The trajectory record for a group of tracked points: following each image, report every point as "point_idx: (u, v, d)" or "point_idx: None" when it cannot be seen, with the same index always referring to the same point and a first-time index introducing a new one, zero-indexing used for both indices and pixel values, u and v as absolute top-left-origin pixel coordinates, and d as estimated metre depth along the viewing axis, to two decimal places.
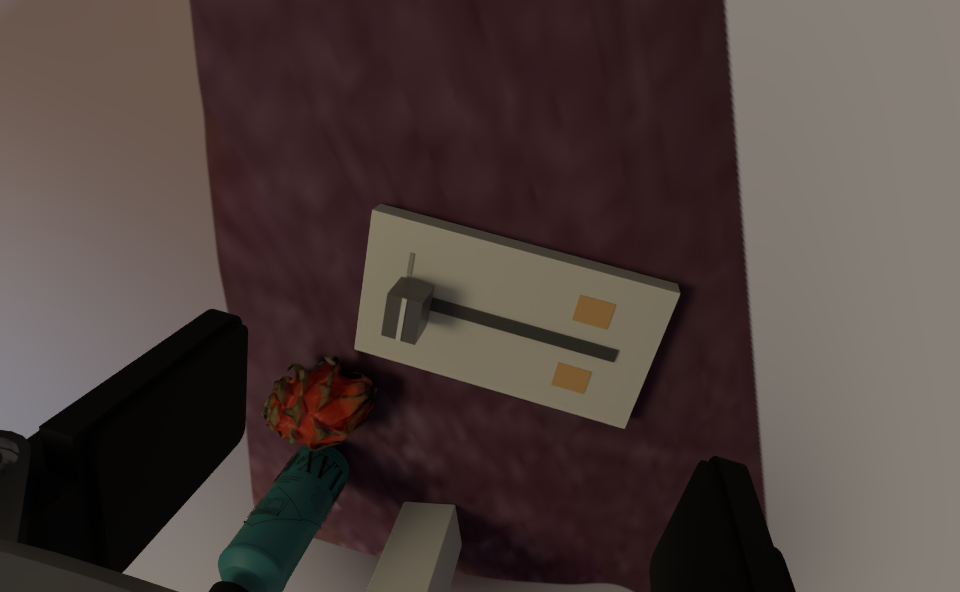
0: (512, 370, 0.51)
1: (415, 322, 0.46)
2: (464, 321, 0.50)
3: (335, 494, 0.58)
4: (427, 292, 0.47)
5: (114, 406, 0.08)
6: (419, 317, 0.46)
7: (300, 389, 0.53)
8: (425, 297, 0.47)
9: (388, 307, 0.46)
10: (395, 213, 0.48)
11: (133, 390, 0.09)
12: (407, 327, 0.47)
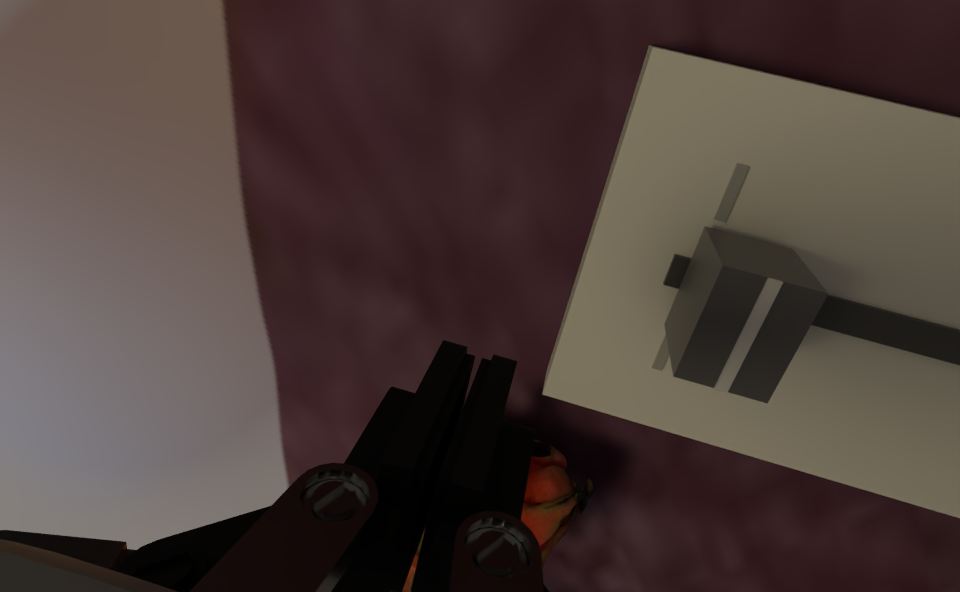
0: (934, 451, 0.22)
1: (789, 345, 0.17)
2: (841, 337, 0.21)
3: None
4: (799, 264, 0.18)
5: (425, 439, 0.09)
6: (803, 332, 0.17)
7: None
8: (812, 277, 0.17)
9: (715, 304, 0.17)
10: (707, 59, 0.18)
11: (429, 423, 0.09)
12: (758, 358, 0.17)
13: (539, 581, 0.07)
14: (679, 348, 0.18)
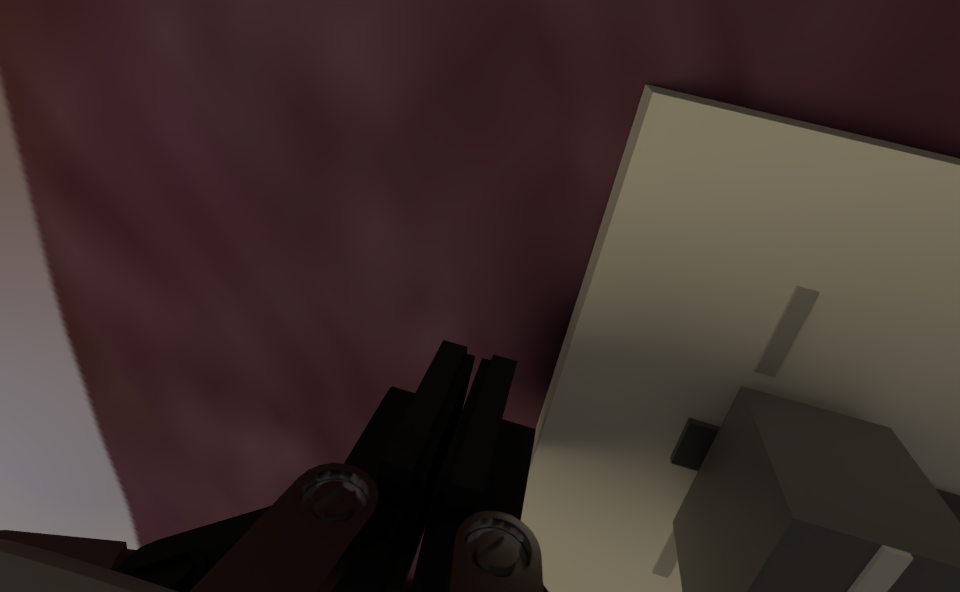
0: None
1: None
2: None
3: None
4: (916, 476, 0.10)
5: (425, 439, 0.09)
6: None
7: None
8: (953, 520, 0.09)
9: (776, 578, 0.09)
10: (746, 111, 0.11)
11: (429, 423, 0.09)
12: None
13: (539, 580, 0.07)
14: None
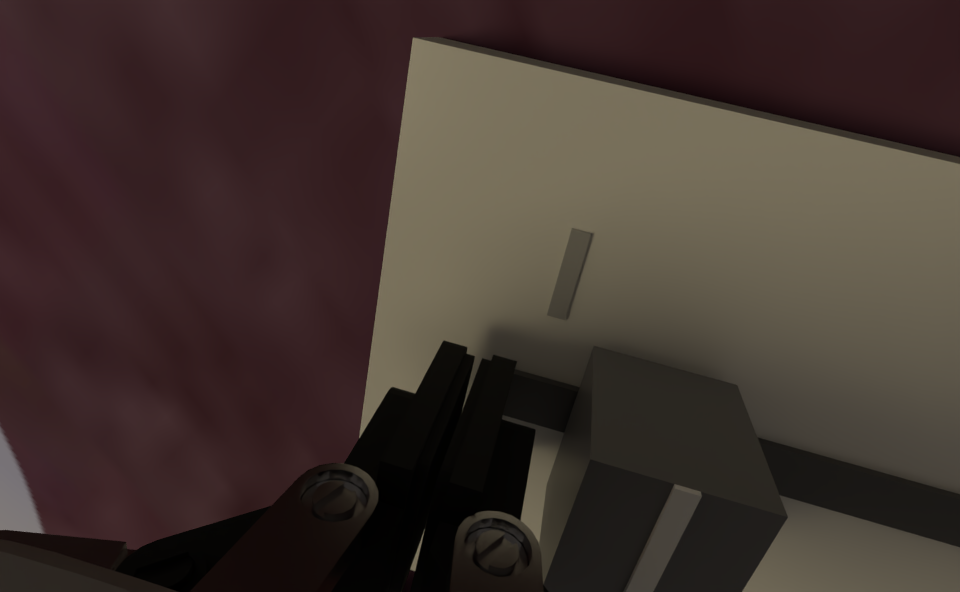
0: None
1: None
2: None
3: None
4: (743, 426, 0.10)
5: (425, 439, 0.09)
6: (746, 574, 0.09)
7: None
8: (762, 465, 0.09)
9: (585, 521, 0.09)
10: (513, 58, 0.11)
11: (429, 423, 0.09)
12: None
13: (539, 581, 0.07)
14: None
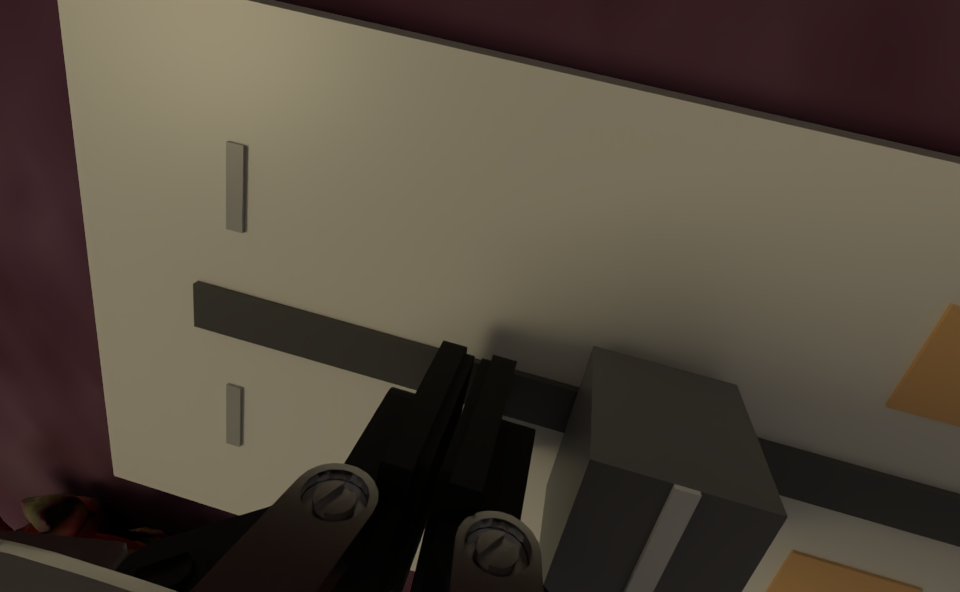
0: None
1: None
2: None
3: None
4: (742, 426, 0.10)
5: (425, 439, 0.09)
6: (746, 573, 0.09)
7: None
8: (762, 465, 0.09)
9: (585, 521, 0.09)
10: None
11: (429, 423, 0.09)
12: None
13: (539, 580, 0.07)
14: None
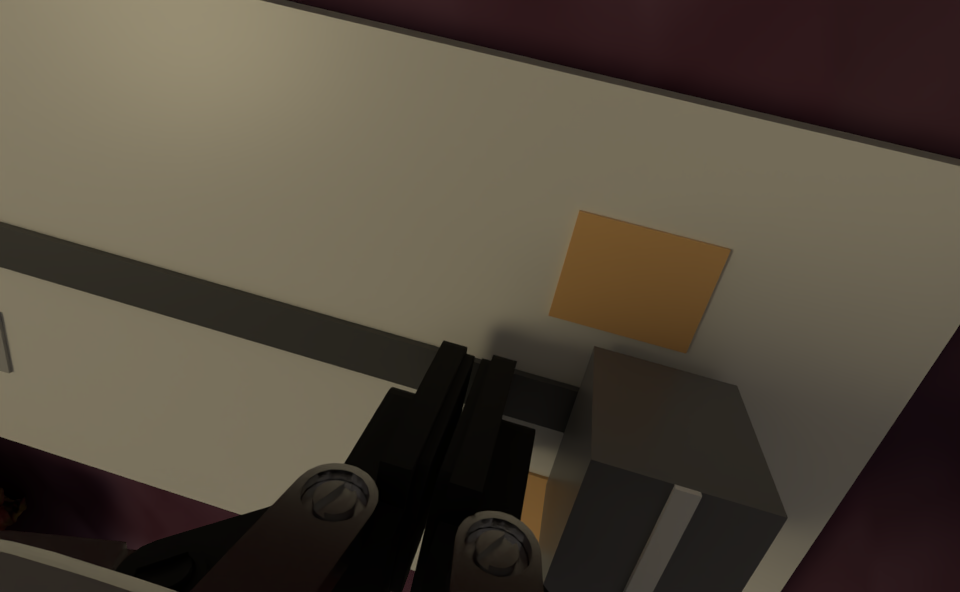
0: None
1: None
2: (178, 323, 0.14)
3: None
4: (743, 427, 0.10)
5: (425, 439, 0.09)
6: (746, 574, 0.09)
7: None
8: (762, 466, 0.09)
9: (585, 521, 0.09)
10: None
11: (429, 423, 0.09)
12: None
13: (539, 581, 0.07)
14: None
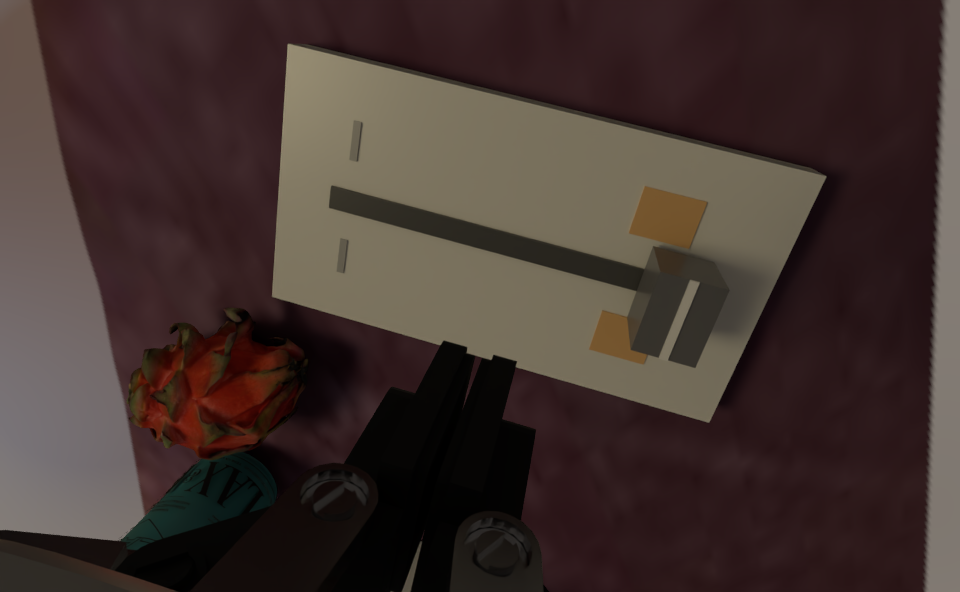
0: (525, 326, 0.31)
1: (706, 326, 0.25)
2: (446, 242, 0.30)
3: None
4: (716, 271, 0.26)
5: (425, 439, 0.09)
6: (716, 316, 0.25)
7: (181, 360, 0.33)
8: (722, 280, 0.25)
9: (656, 298, 0.25)
10: (329, 52, 0.28)
11: (429, 423, 0.09)
12: (687, 335, 0.25)
13: (539, 580, 0.07)
14: (634, 330, 0.26)
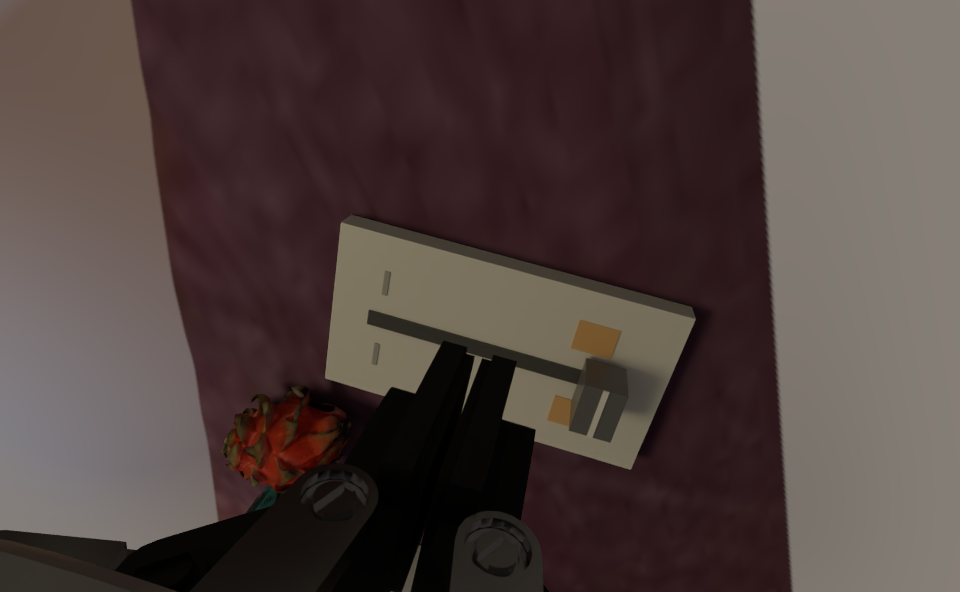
0: None
1: (615, 417, 0.39)
2: None
3: None
4: (624, 379, 0.40)
5: (425, 439, 0.09)
6: (621, 412, 0.39)
7: (263, 425, 0.47)
8: (626, 387, 0.39)
9: (583, 400, 0.39)
10: (368, 225, 0.42)
11: (429, 423, 0.09)
12: (604, 423, 0.39)
13: (539, 581, 0.07)
14: (571, 417, 0.40)
